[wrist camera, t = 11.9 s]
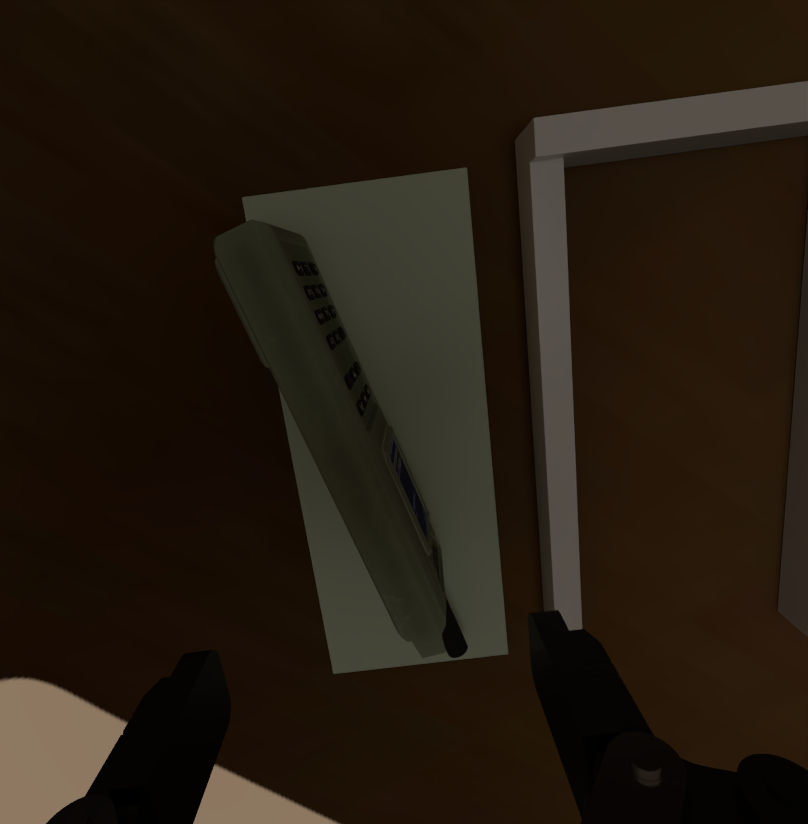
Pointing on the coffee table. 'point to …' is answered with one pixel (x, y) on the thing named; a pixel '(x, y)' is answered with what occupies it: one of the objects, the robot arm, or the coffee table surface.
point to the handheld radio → (341, 425)
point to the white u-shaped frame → (550, 317)
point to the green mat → (403, 397)
